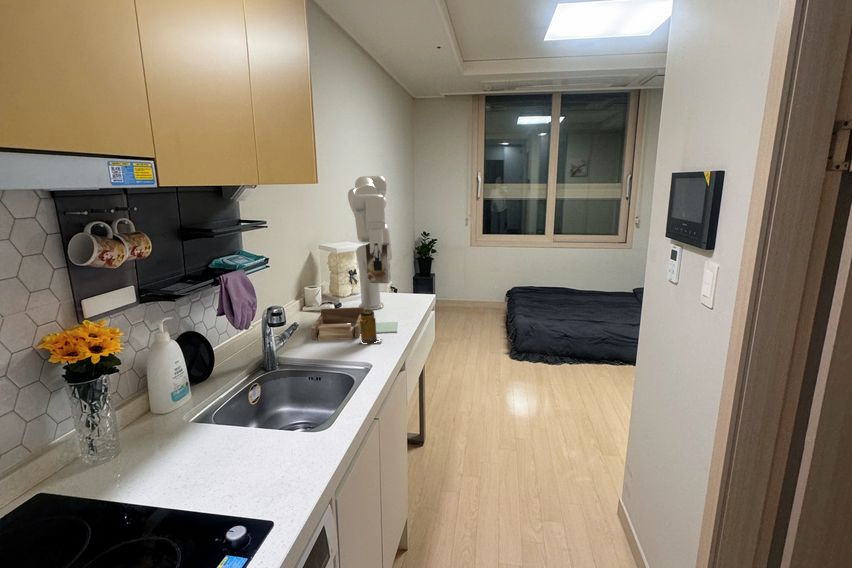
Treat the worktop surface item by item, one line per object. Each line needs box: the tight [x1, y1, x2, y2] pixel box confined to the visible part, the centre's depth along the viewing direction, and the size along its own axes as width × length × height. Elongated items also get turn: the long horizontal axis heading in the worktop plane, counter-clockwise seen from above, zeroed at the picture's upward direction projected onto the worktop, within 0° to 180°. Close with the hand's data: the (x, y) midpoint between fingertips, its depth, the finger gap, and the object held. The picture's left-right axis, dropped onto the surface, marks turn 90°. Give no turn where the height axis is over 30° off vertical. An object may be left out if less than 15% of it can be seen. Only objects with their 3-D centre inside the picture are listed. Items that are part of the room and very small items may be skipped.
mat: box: [376, 321, 399, 334], centre depth 189 cm, size 13×13×1 cm
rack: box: [310, 306, 365, 341], centre depth 187 cm, size 22×19×7 cm
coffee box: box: [365, 243, 392, 284], centre depth 182 cm, size 9×6×16 cm
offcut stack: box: [317, 324, 355, 340], centre depth 179 cm, size 4×14×5 cm, turn 90°
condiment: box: [360, 310, 383, 345], centre depth 172 cm, size 7×8×12 cm
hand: (378, 268), depth 183 cm, fingers closed on coffee box, 6 cm apart
